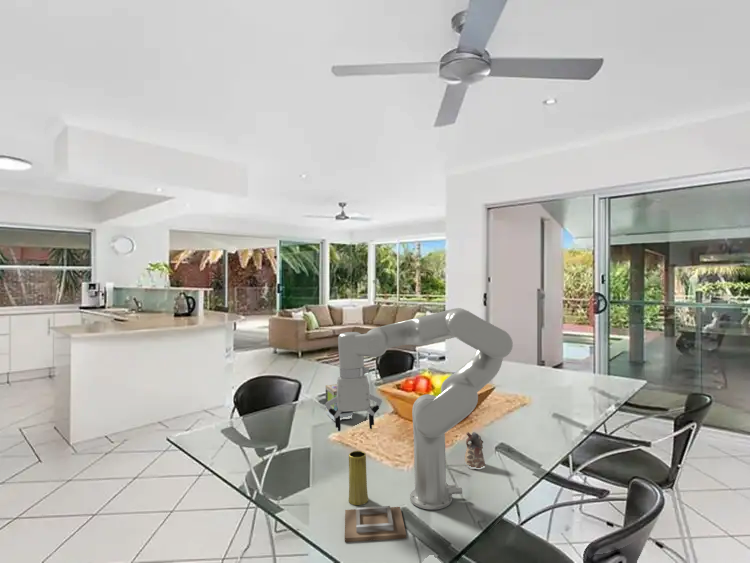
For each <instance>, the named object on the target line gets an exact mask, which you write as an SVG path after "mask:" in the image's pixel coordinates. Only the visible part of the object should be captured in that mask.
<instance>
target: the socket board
mask: <svg viewBox="0 0 750 563" xmlns="http://www.w3.org/2000/svg"><path fill="white" fill-rule="evenodd" d="M398 539H399V540H400V539H401V540H402V539H407V532H406V528H405V524H404V518H403V514H402V510H401V506H390V505H384V506H382V505H381V506H365V507H356V508H355V509H354V508H353V509H345V510H344V543H351V542H366V541H368V542H370V541H381V540H382V541H385V540H398Z"/></svg>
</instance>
